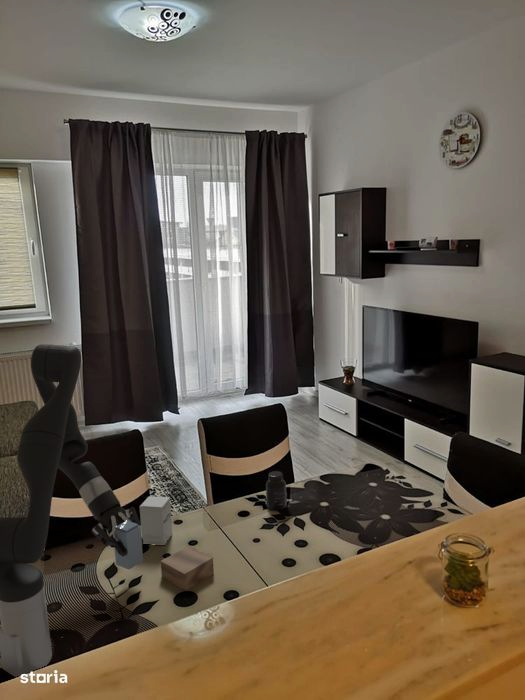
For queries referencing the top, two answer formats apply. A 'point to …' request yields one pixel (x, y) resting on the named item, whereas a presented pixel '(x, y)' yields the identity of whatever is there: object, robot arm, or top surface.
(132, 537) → the pale blue upright prism
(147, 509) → the supplement box
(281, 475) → the supplement bottle
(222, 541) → the top surface
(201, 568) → the walnut box
